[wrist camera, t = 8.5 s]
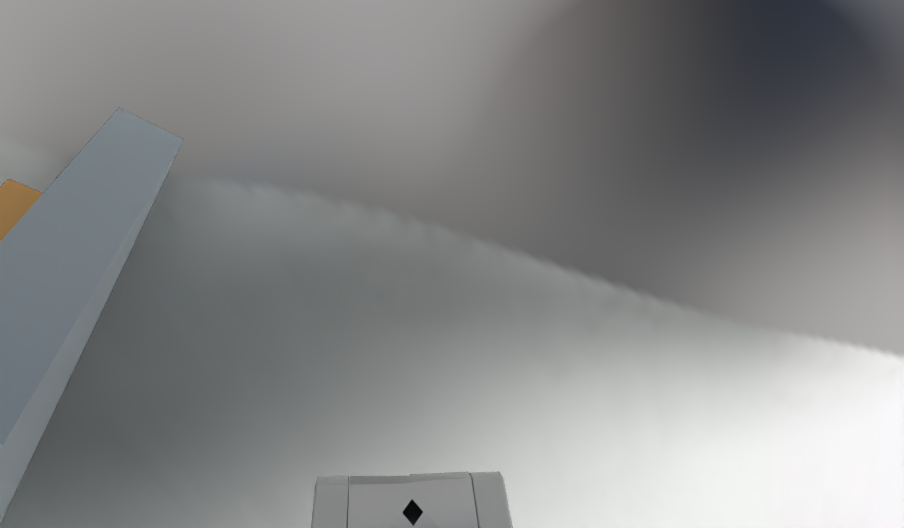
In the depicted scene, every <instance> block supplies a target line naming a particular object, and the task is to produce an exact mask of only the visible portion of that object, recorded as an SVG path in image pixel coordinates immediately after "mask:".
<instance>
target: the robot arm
mask: <svg viewBox="0 0 904 528" xmlns="http://www.w3.org/2000/svg"><path fill="white" fill-rule="evenodd" d="M311 528H513V526H512V521H511V516H510V511H509V506H508V500H507V495H506V490H505V485H504V480H503V477H502V475H501V474H500V472H498V471H496V472H477V473H469V472H452V473H431V474H410V475H404V476H350V477H349V476H329V477H318V478H317V482H316V485H315V492H314V503H313V513H312V523H311Z"/></svg>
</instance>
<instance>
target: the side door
mask: <svg viewBox="0 0 904 528" xmlns="http://www.w3.org/2000/svg"><path fill="white" fill-rule="evenodd" d="M183 140H184V139H182V138H180V137H178V136H176V135H174V134H172V133H170V132H168V131H166V130H164V129H162V128H160V127H158V126H156V125H154V124H152V123H150V122H148V121H146V120H144V119H142V118H140V117H138V116H136V115H134V114H132V113H130V112H128V111H126V110H124V109H122V108H120V107H119V108H118V109H117V110H116V112H115V113H114V114H113V115H112V116H111V117H110V118H109V119H108V121H107V122H106V123H105V124H104V125H103V126H102V127H101V128H100V130H99V131H98V132H97V133H96V134H95V135H94V137H93V138H92V139H91V140H90V141H89V142H88V143H87V144H86V145H85V147H84V148H83V149H82V150H81V151H80V152H79V153H78V154H77V156H76V157H75V158H74V159H73V160H72V161H71V162H70V164H69V165H68V166H67V167H66V168H65V169H64V170H63V171H62V173H61V174H60V175H59V176H58V177H57V178H56V179H55V181H54V182H53V183H52V184H51V185H50V186H49V187H48V188H47V190H46V191H45V192H44V193H41V192H39V191H36V190H34V189H32V188H29V187H27V186H25V185H22V184H20V183H17V182H15V181H13V180H10V179H8V180H7V181H6V182H5V183H4V184H3V185H2V186H1V187H0V523H1V521H2V519H3V517H4V515H5V512H6V510H7V508H8V506H9V504H10V502H11V500H12V498H13V496H14V494H15V492H16V490H17V487H18V485H19V483H20V481H21V479H22V477H23V475H24V473H25V471H26V469H27V467H28V464H29V462H30V460H31V458H32V456H33V454H34V452H35V450H36V448H37V446H38V444H39V441H40V439H41V437H42V435H43V433H44V431H45V429H46V427H47V425H48V423H49V421H50V418H51V416H52V414H53V412H54V410H55V408H56V406H57V404H58V402H59V400H60V398H61V395H62V393H63V391H64V389H65V387H66V385H67V383H68V381H69V379H70V377H71V375H72V372H73V370H74V368H75V366H76V364H77V362H78V360H79V358H80V356H81V354H82V352H83V349H84V347H85V345H86V343H87V341H88V339H89V337H90V335H91V333H92V331H93V329H94V326H95V324H96V322H97V320H98V318H99V316H100V314H101V312H102V310H103V308H104V306H105V303H106V301H107V299H108V297H109V295H110V293H111V291H112V289H113V287H114V285H115V283H116V280H117V278H118V276H119V274H120V272H121V270H122V268H123V266H124V264H125V262H126V260H127V257H128V255H129V253H130V251H131V249H132V247H133V245H134V243H135V241H136V239H137V237H138V234H139V232H140V230H141V228H142V226H143V224H144V222H145V220H146V218H147V216H148V214H149V211H150V209H151V207H152V205H153V203H154V201H155V199H156V197H157V195H158V193H159V191H160V188H161V186H162V184H163V182H164V180H165V178H166V176H167V174H168V172H169V170H170V168H171V165H172V163H173V161H174V159H175V157H176V155H177V153H178V151H179V149H180V147H181V145H182V142H183Z"/></svg>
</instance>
